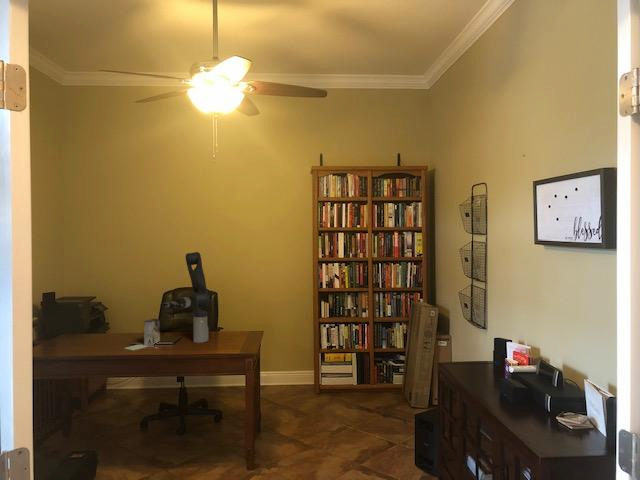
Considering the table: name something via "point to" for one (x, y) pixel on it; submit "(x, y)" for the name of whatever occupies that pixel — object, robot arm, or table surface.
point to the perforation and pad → (136, 347)
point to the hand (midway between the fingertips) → (165, 306)
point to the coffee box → (151, 331)
